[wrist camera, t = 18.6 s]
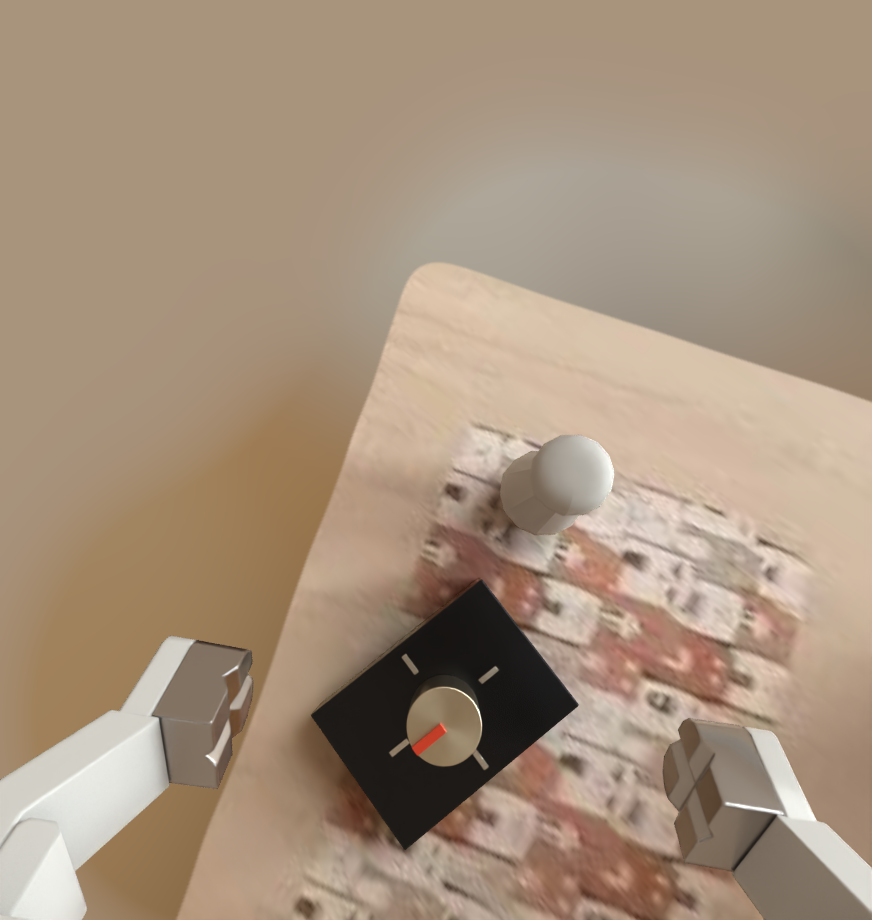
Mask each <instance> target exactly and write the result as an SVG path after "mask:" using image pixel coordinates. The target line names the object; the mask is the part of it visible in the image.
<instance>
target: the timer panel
mask: <svg viewBox="0 0 872 920" xmlns="http://www.w3.org/2000/svg"><path fill="white" fill-rule="evenodd" d="M438 675H450V676H454V677H457V678H459V679H461V680H463V681H464V682H465V683H467V684H468V685H469V686H470V688H471V689H472V690H473V692H474V693H475V696H476V698H477V701H478V705H479V710H480V715H481V720H482V734H481V738H480V741H479V744H478V746H477V748H476V749H475V751H474V752H473V753H472V754H471V755H470V756H469V757H468V758H467V759H466V760H464V761H463V762H461V763H459V764H456V765H453V766H445V767H444V766H436V765H433V764H430V763H428V762H426V761H425V760H423V759H422V758H421V757H420V756H417V755H416V754H415V752H414V751H413V749H412V746H411V744H410V742H409V739H408V736H407V728H406V724H407V717H408V712H409V708H410V704H411V700H412V697H413V695H414V693H415V691H416V690H417V688H418V687H419V686H420V685H421V684H422V683H423V682H425V681H426V680H427V679H429V678H431V677H434V676H438ZM578 705H579V704H578V703H577V702H576V700H575V699H574V698H573V696H572V695H571V694H570V693H569V691H568V690H567V689H566V687H565V686H564V685H563V684H562V682H561V681H560V680H559V678H558V677H557V676H556V675H555V673H554V672H553V671H552V669H551V668H550V667H549V665H548V664H547V663H546V662H545V660H544V659H543V658H542V656H541V655H540V654H539V653H538V651H537V650H536V649H535V647H534V646H533V645H532V643H531V642H530V641H529V640H528V638H527V637H526V636H525V634H524V633H523V632H522V631H521V629H520V628H519V627H518V625H517V624H516V623H515V622H514V620H513V619H512V618H511V616H510V615H509V614H508V612H507V611H506V610H505V609H504V607H503V606H502V605H501V603H500V602H499V601H498V600H497V598H496V597H495V596H494V594H493V593H492V592H491V590H490V589H489V588H488V587H487V585H486V584H485V583H484V581H483V580H482V579H480V578H478V579H476V580H475V581H474V582H473V583H471V584H470V585H469V586H468V587H466V588H465V589H464V590H463V591H461V592H460V593H459V594H458V595H456V596H455V597H454V598H453V599H451V600H450V601H449V602H447V603H446V604H445V605H444V606H442V607H441V608H440V609H439V610H437V611H436V612H435V613H434V614H432V615H431V616H430V617H429V618H427V619H426V620H425V621H424V622H422V623H421V624H420V625H419V626H417V627H416V628H415V629H414V630H412V631H411V632H410V633H409V634H407V635H406V636H405V637H404V638H402V639H401V640H400V641H398V642H397V643H396V644H395V645H393V646H392V647H391V648H390V649H388V650H387V651H386V652H385V653H383V654H382V655H381V656H380V657H378V658H377V659H376V660H375V661H373V662H372V663H371V664H370V665H368V666H367V667H366V668H365V669H363V670H362V671H361V672H360V673H358V674H357V675H356V676H355V677H353V678H352V679H351V680H349V681H348V682H347V683H346V684H344V685H343V686H342V687H341V688H339V689H338V690H337V691H336V692H334V693H333V694H332V695H331V696H329V697H328V698H327V699H326V700H324V701H323V702H322V703H321V704H320V705H319V706H318V707H317V708H316V710H315V711H314V712H313V713H312V714H311V716H312V718H313V719H314V721H315V722H316V724H317V725H318V726H319V728H320V729H321V731H322V732H323V734H324V735H325V736H326V738H327V739H328V741H329V742H330V744H331V745H332V746H333V748H334V749H335V751H336V752H337V754H338V755H339V757H340V758H341V759H342V761H343V762H344V764H345V765H346V767H347V768H348V769H349V771H350V772H351V774H352V775H353V777H354V778H355V779H356V781H357V782H358V784H359V785H360V787H361V788H362V790H363V791H364V792H365V794H366V795H367V797H368V798H369V800H370V801H371V802H372V804H373V805H374V807H375V808H376V810H377V811H378V812H379V814H380V815H381V817H382V818H383V820H384V821H385V823H386V824H387V825H388V827H389V828H390V830H391V831H392V833H393V834H394V835H395V837H396V838H397V840H398V841H399V843H400V844H401V845H402V847H403V848H404V850H406V849H407V848H408V847H410V846H411V845H412V844H413V843H414V842H416V841H417V840H418V839H419V838H420V837H422V836H423V835H424V834H425V833H426V832H428V831H429V830H430V829H431V828H432V827H434V826H435V825H436V824H437V823H438V822H440V821H441V820H442V819H443V818H444V817H446V816H447V815H448V814H449V813H450V812H452V811H453V810H454V809H455V808H456V807H458V806H459V805H460V804H461V803H462V802H464V801H465V800H466V799H467V798H468V797H470V796H471V795H472V794H473V793H474V792H476V791H477V790H478V789H479V788H480V787H482V786H483V785H484V784H485V783H486V782H488V781H489V780H490V779H491V778H492V777H494V776H495V775H496V774H497V773H498V772H500V771H501V770H502V769H503V768H504V767H506V766H507V765H508V764H509V763H510V762H512V761H513V760H514V759H515V758H516V757H518V756H519V755H520V754H521V753H522V752H524V751H525V750H526V749H527V748H528V747H530V746H531V745H532V744H533V743H534V742H536V741H537V740H538V739H539V738H540V737H542V736H543V735H544V734H545V733H546V732H548V731H549V730H550V729H551V728H552V727H554V726H555V725H556V724H557V723H558V722H560V721H561V720H562V719H563V718H564V717H566V716H567V715H568V714H569V713H570V712H572V711H573V710H574V709H575V708H576V707H578Z"/></svg>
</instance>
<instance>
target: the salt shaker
mask: <svg viewBox="0 0 872 920" xmlns="http://www.w3.org/2000/svg"><path fill="white" fill-rule="evenodd" d="M613 478H614V469H613V466H612V463H611V460H610V457H609V455H608V454H607V452H606V451H605V450H604V449H603V448H602V447H601V446H600V444H599V443H598V442H596V441H594V440H592V439H589V438H587V437H584V436H582V435H561V436H559V437H557V438H555V439H553V440H551V441H549V442H547V443H545V444H544V445H543V446H542V448H541V449H540V450H539V451H531V452H529V453H527V454H525V455H523V456H521V457H520V458H518V459H516V460H514V462H513V463H512V464H511V465H510V467H509V468H508V469H507V470H506V472H505V473H504V474H503V478H502V484H501V490H500V496H501V500H502V504H503V508H504V512H505V513H506V514H507V515H508V517H509V518H510V519H511V520H512V521H513V522H514V523H515V525H516V526H517V527H519V528H521V529H523V530H525V531H528V532H530V533H532V534H534V535H551V534H556V533H558V532H560V531H562V530H564V529H566V528H568V527H570V526H572V524H573V523H574V521H575V520H576V519H577V517H578V516H579V515H584V514H586V513H588V512H590V511H592V510H594V509H596V508H598V507H600V505H601V504H602V503H603V501H604V500H605V498H606V497H607V496H608V494H609V493H610V491H611V490H612V484H613Z"/></svg>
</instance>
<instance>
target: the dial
mask: <svg viewBox="0 0 872 920" xmlns="http://www.w3.org/2000/svg"><path fill="white" fill-rule="evenodd" d="M406 728H407V736H408V739H409V742H410V744H411V746H412V749H413V751H414V752H415V754H416V755H417V756H420V757H421V758H422V759H423V760H425V761H426V762H428V763H430V764H433V765H436V766H444V767H445V766H453V765H456V764H459V763H461V762H463V761H464V760H466V759H467V758H468V757H469V756H470V755H471V754H472V753H473V752H474V751H475V749H476V748H477V746H478V744H479V741H480V738H481V734H482V720H481V715H480V710H479V705H478V701H477V698H476V696H475V693H474V692H473V690H472V689H471V688H470V686H469V685H468V684H467V683H465V682H464V681H463V680H461V679H459V678H457V677H454V676H450V675H438V676H434V677H431V678H429V679H427V680H426V681H425V682H423V683H422V684H421V685H420V686H419V687H418V688H417V690H416V691H415V693H414V695H413V697H412V700H411V704H410V708H409V712H408V717H407V724H406Z"/></svg>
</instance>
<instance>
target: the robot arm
mask: <svg viewBox="0 0 872 920" xmlns="http://www.w3.org/2000/svg"><path fill="white" fill-rule="evenodd" d="M251 665H252V651H251V650H247V649H242V648H236V647H231V646H225V645H220V644H215V643H209V642H204V641H199V640H193V639H187V638H180V637H175V636H169V637H168V638H167V639H166V640H165V641H163V642H162V644H161V645H160V647H159V648H158V650H157V652H156V653H155V655H154V656H153V658H152V659H151V661H150V663H149V664H148V666H147V667H146V669H145V671H144V672H143V674H142V675H141V677H140V678H139V680H138V682H137V683H136V685H135V686H134V688H133V690H132V691H131V693H130V694H129V696H128V697H127V699H126V701H125V702H124V704H123V705H122V707H121V709H120V710H119V711H115V710H110V711H108V712H107V713H105V714H104V715H102V716H100V717H99V718H97V719H96V720H94V721H92V722H91V723H89V724H88V725H86V726H84V727H83V728H81V729H80V730H78V731H76V732H75V733H73V734H72V735H70V736H69V737H67V738H65V739H64V740H62V741H61V742H59V743H57V744H56V745H54V746H53V747H51V748H50V749H48V750H46V751H45V752H43V753H42V754H40V755H39V756H37V757H35V758H34V759H32V760H30V761H29V762H27V763H26V764H24V765H23V766H21V767H19V768H18V769H16V770H15V771H13V772H11V773H10V774H8V775H7V776H5V777H3V778H2V779H0V920H82V919H83V917H84V915H85V913H86V911H87V907H86V903H85V899H84V896H83V894H82V890H81V888H80V885H79V882H78V879H77V876H76V873H75V871H76V870H77V869H78V868H79V867H80V866H82V864H84V863H85V862H86V861H87V860H88V859H89V858H90V857H91V856H93V855H94V854H95V853H96V852H97V851H98V850H99V849H100V848H101V847H103V846H104V845H105V844H106V843H107V842H108V841H109V840H110V839H111V838H113V837H114V836H115V835H116V834H117V833H118V832H119V831H120V830H121V829H122V828H124V827H125V826H126V825H127V824H128V823H129V822H130V821H131V820H132V819H134V818H135V817H136V816H137V815H138V814H139V813H140V812H141V811H142V810H144V809H145V808H146V807H147V806H148V805H149V804H150V803H151V802H152V801H153V800H155V799H156V798H157V797H158V796H159V795H160V794H161V793H162V792H164V790H166V789H167V788H168V787H169V783H175V784H183V785H190V786H199V787H207V788H214V789H218V787H219V785H220V783H221V780H222V778H223V775H224V773H225V770H226V768H227V766H228V763H229V761H230V758H231V756H232V738H233V737H234V736H236V735H237V734H238V733H239V732H241V731H242V729H243V726H244V723H245V721H246V718H247V716H248V711H249V708H250V704H251V701H252V693H253V678H252V677H251V676H250V675H249V674H248V672H249V670H250V667H251ZM678 731H679V735H680V738H681V739H680V740H678V741H676V742H674V743H672V744H670V746H669V748H668V750H667V752H666V754H665V756H664V764H663V780H664V786H665V790H666V794H667V798H668V799H669V801H670V802H671V803H672V804H673V805H674V806H675V808H676V809H677V810H678V811H679V813H678V816H677V818H676V820H675V822H674V825H675V829H676V833H677V836H678V840H679V844H680V847H681V851H682V855H683V859H684V862H685V863H689V864H694V865H699V866H705V867H710V868H715V869H721V870H726V871H731V872H733V873H732V875H733V876H734V878H735V879H736V881H737V882H738V883H739V885H740V886H741V888H742V889H743V890H744V892H745V893H746V894H747V896H748V897H749V899H750V900H751V901H752V903H753V904H754V906H755V907H756V908H757V910H758V911H759V912H760V914H761V915H762V917H763V918H764V919H765V920H872V868H871V867H870V866H869V865H868V864H867V863H866V862H865V861H864V860H863V859H862V858H861V857H860V856H859V855H858V854H857V853H856V852H855V851H854V850H853V849H852V848H851V847H850V846H849V845H848V844H847V843H845V842H844V841H843V840H842V839H841V838H840V837H839V836H838V835H837V834H836V833H835V832H834V831H833V830H832V829H831V828H830V827H829V826H828V825H827V824H826V823H823V822H818V821H816V818H815V816H814V814H813V812H812V810H811V808H810V806H809V804H808V802H807V799H806V797H805V795H804V793H803V791H802V789H801V787H800V785H799V783H798V780H797V778H796V776H795V774H794V772H793V770H792V768H791V766H790V764H789V762H788V759H787V757H786V755H785V753H784V751H783V749H782V747H781V745H780V743H779V740H778V738H777V737H776V736H775V735H774V734H773V733H772V732H771V731H768V730H762V729H755V728H749V727H741V726H739V725H733V724H726V723H719V722H712V721H705V720H698V719H691V718H688V719H686V720H684V721H683V722H682V724H681V726H680V727H679V729H678Z"/></svg>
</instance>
